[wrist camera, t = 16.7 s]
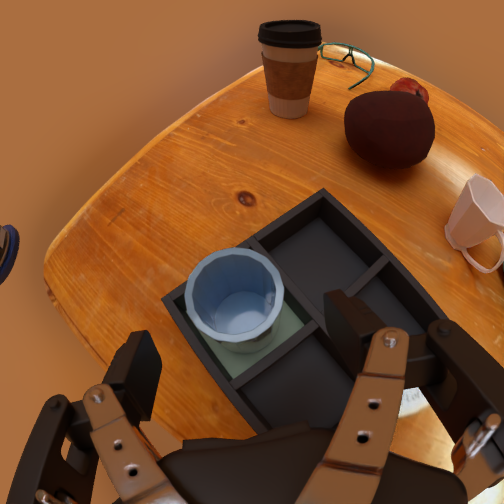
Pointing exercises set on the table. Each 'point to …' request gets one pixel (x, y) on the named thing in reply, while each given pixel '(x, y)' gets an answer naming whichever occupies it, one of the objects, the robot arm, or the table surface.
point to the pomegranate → (410, 88)
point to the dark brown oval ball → (390, 128)
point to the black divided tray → (309, 315)
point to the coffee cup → (289, 64)
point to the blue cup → (236, 299)
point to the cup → (476, 218)
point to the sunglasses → (352, 59)
